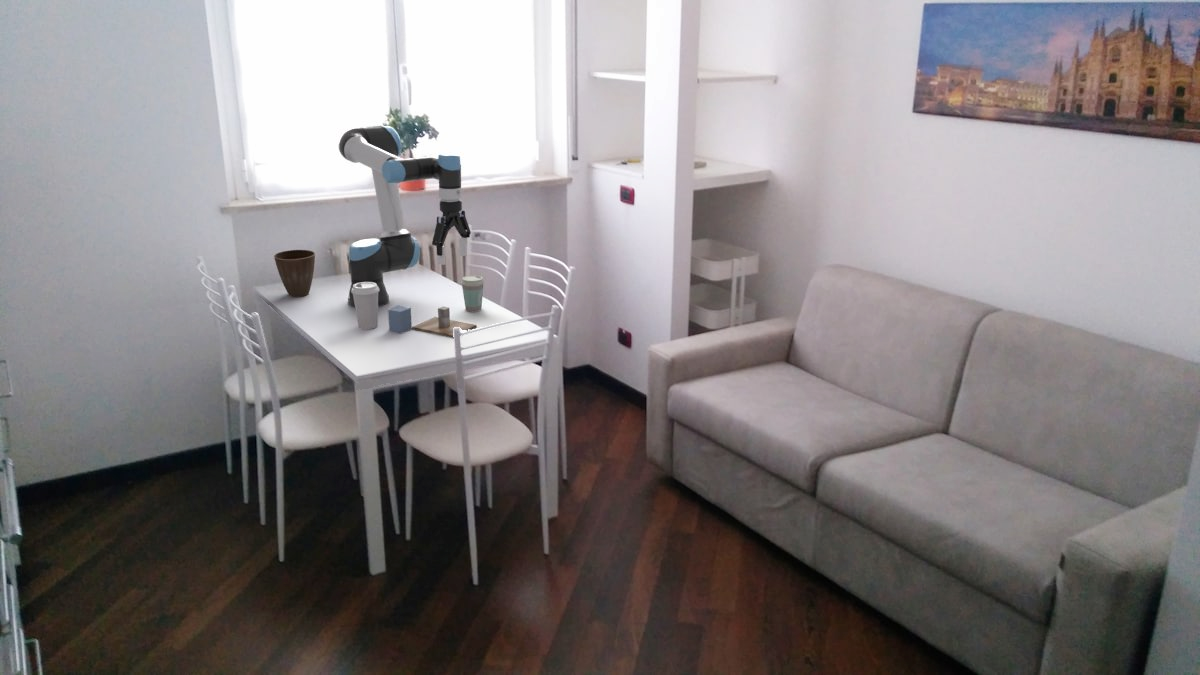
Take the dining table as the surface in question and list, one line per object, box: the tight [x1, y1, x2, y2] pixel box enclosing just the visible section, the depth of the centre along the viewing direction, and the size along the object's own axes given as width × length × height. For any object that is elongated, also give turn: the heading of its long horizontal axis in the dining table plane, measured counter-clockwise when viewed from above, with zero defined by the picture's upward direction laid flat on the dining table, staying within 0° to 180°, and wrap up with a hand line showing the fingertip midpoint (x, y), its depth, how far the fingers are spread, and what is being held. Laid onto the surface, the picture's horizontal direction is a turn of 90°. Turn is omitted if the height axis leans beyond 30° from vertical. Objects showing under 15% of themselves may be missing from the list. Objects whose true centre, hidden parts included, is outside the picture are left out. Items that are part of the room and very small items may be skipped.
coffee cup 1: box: [351, 282, 380, 330], centre depth 318 cm, size 10×10×15 cm
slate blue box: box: [387, 305, 413, 334], centre depth 316 cm, size 5×5×8 cm
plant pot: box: [273, 249, 316, 298], centre depth 352 cm, size 15×15×16 cm
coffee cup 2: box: [460, 275, 485, 312], centre depth 339 cm, size 8×9×12 cm
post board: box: [411, 306, 478, 338], centre depth 319 cm, size 18×13×7 cm
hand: (452, 259), depth 321 cm, fingers open, 13 cm apart
